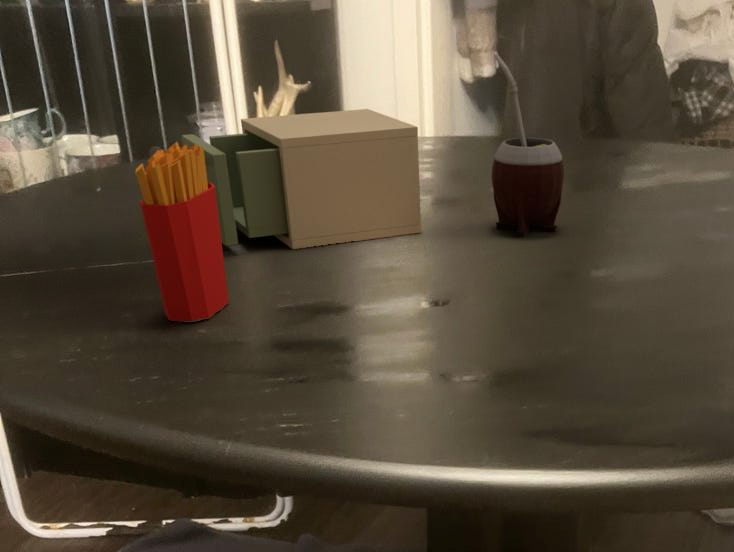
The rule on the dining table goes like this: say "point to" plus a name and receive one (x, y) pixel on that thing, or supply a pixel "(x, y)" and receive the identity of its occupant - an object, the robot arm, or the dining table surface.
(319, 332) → the dining table surface
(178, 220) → the french fries
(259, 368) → the dining table surface
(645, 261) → the dining table surface
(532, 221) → the mate gourd
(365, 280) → the dining table surface
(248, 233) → the drawer
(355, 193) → the cabinet
